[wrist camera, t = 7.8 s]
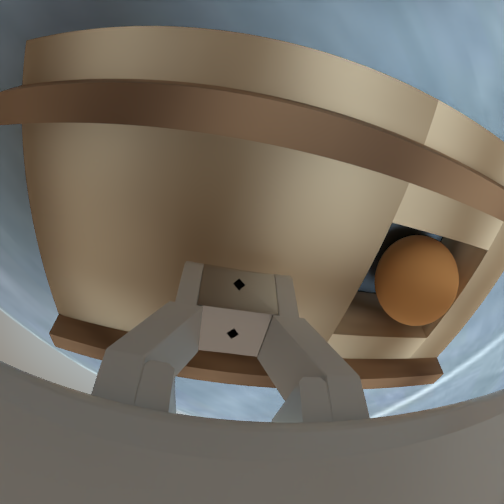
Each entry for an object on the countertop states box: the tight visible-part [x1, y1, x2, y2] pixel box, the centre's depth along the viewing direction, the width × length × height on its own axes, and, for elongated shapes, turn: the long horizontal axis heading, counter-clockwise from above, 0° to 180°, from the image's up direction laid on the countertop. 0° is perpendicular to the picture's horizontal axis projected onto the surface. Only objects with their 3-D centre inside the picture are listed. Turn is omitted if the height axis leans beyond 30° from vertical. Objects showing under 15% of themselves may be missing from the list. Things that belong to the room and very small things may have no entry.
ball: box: [375, 235, 459, 326], centre depth 12 cm, size 4×4×4 cm
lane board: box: [0, 26, 504, 389], centre depth 11 cm, size 20×14×4 cm
